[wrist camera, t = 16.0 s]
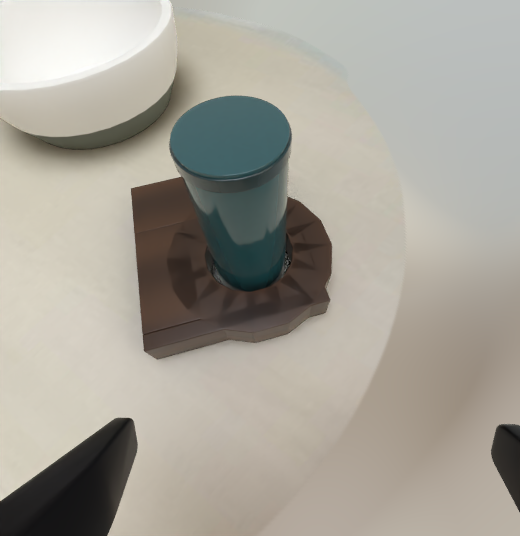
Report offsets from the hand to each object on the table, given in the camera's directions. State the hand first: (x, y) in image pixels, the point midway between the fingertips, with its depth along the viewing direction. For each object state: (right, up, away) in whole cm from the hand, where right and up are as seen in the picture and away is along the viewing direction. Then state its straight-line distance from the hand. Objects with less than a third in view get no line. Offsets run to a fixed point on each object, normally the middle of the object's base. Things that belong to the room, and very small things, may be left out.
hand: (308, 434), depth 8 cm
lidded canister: (-2, +4, +18) cm, 19 cm away
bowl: (-21, +25, +31) cm, 44 cm away
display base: (-4, +5, +19) cm, 20 cm away
